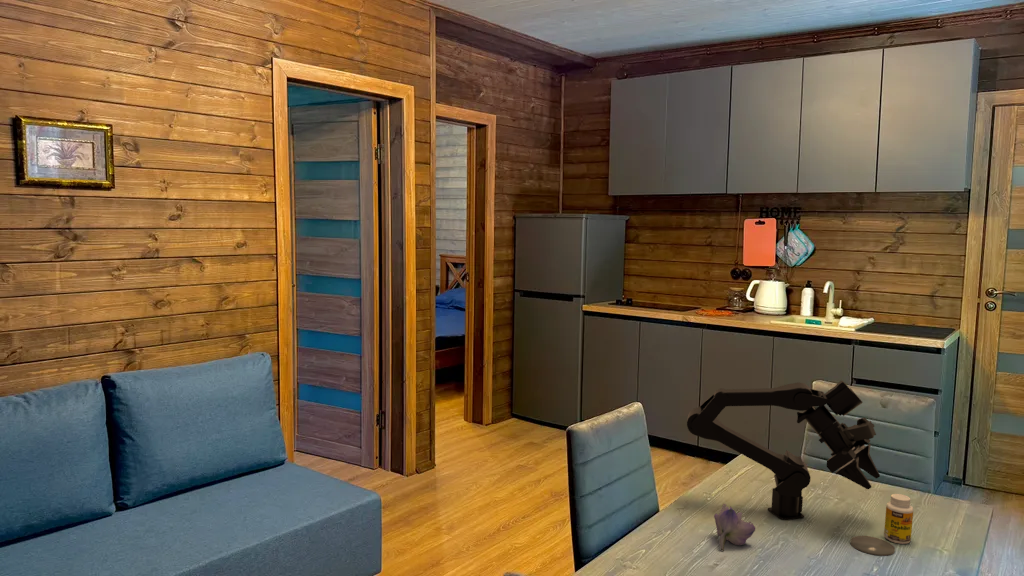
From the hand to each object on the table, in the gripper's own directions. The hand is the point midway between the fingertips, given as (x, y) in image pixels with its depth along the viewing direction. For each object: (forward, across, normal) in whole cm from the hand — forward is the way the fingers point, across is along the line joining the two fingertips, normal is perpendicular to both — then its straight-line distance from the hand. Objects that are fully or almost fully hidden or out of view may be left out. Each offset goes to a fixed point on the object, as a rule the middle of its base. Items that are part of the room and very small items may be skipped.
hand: (874, 482), depth 172 cm
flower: (-8, -28, +25) cm, 38 cm away
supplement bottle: (+13, 0, +5) cm, 14 cm away
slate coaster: (+10, -8, +7) cm, 15 cm away
